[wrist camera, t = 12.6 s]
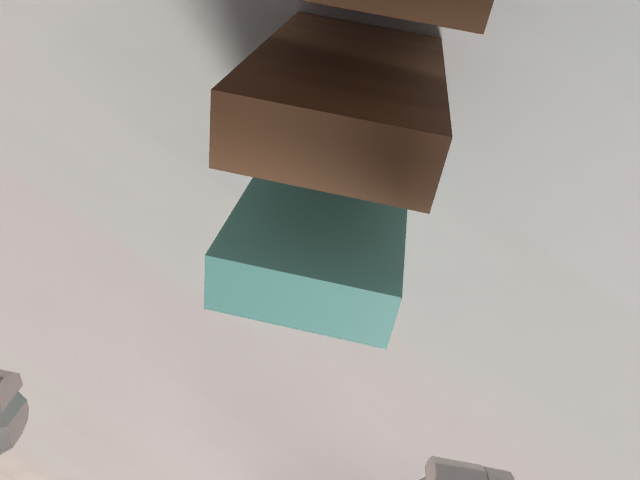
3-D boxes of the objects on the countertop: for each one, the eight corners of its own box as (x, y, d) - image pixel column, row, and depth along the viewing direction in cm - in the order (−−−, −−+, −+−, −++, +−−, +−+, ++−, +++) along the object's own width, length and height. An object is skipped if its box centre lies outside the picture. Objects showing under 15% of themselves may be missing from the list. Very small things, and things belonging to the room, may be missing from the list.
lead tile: (400, 191, 21) (386, 349, 14) (280, 166, 22) (203, 308, 14) (411, 150, 20) (401, 298, 13) (284, 125, 21) (205, 255, 13)
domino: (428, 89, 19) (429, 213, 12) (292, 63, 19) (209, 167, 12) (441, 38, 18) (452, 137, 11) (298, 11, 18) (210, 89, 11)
